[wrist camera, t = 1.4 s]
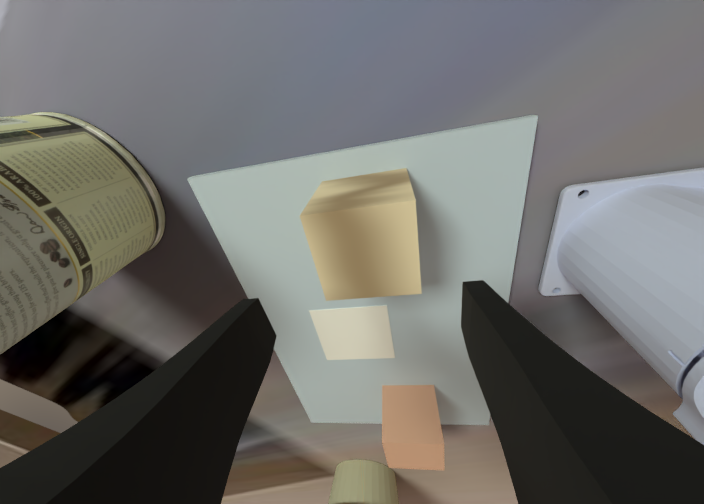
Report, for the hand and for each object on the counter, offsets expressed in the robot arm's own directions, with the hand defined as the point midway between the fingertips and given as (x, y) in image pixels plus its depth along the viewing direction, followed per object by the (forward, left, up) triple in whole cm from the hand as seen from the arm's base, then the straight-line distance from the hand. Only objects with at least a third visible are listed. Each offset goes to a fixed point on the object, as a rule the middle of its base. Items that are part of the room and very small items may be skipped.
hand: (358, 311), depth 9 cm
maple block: (0, 0, -8) cm, 8 cm away
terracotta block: (-1, +21, -8) cm, 23 cm away
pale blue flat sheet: (+1, +11, -9) cm, 14 cm away
